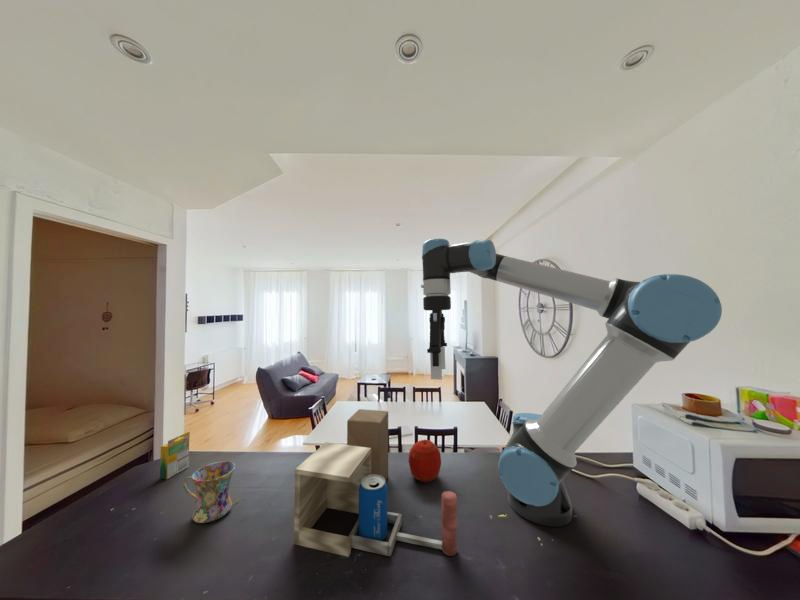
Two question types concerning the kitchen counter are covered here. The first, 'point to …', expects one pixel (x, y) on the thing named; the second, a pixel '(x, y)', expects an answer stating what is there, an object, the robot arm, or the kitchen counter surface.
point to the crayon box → (174, 456)
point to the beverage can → (373, 507)
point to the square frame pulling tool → (386, 548)
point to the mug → (211, 491)
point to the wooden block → (371, 437)
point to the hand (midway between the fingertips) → (438, 373)
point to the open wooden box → (328, 493)
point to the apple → (425, 460)
